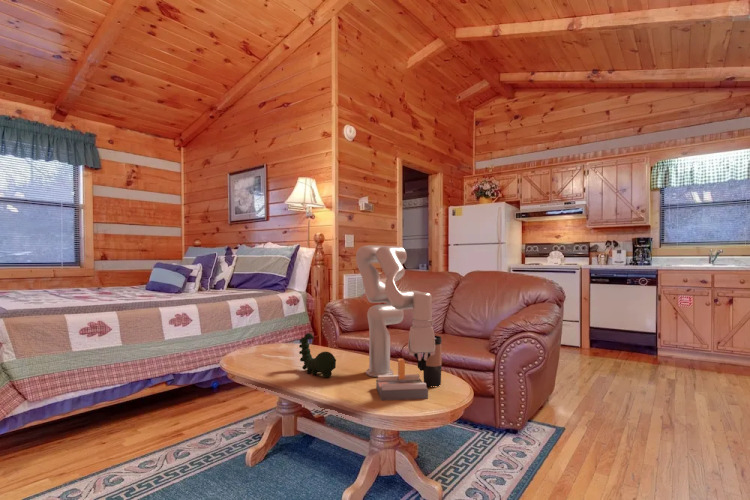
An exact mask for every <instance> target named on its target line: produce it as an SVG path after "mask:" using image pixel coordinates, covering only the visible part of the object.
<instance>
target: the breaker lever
mask: <svg viewBox="0 0 750 500" xmlns="http://www.w3.org/2000/svg"><path fill="white" fill-rule="evenodd" d="M405 369H406V361H405V359H404V358H398V359H397V375H398V378H397V380H398V382H399V383H405V375H406V372H405V371H406V370H405Z"/></svg>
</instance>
